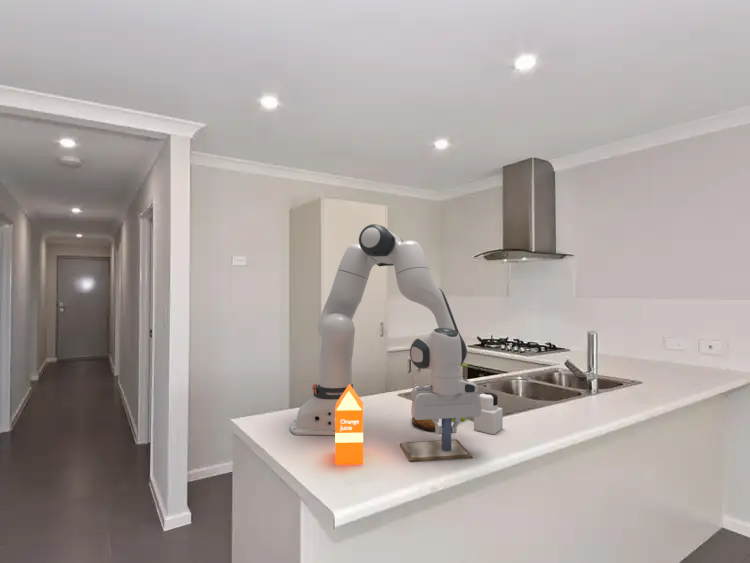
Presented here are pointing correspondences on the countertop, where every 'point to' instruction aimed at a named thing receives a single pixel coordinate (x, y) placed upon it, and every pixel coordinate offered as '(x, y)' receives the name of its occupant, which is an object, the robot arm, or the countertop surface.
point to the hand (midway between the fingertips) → (446, 433)
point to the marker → (446, 434)
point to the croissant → (425, 424)
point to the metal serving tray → (433, 451)
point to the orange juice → (349, 429)
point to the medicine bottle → (489, 415)
